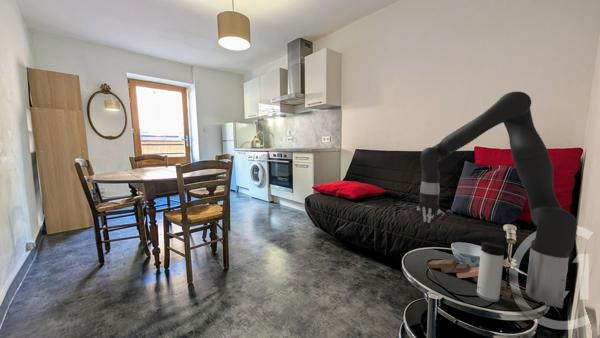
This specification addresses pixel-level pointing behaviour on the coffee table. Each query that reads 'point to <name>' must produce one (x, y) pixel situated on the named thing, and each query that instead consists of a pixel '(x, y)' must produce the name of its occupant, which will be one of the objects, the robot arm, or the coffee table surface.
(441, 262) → the walnut tile
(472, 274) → the terracotta tile
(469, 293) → the coffee table surface
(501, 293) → the walnut tile
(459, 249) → the chinaware
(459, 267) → the walnut tile
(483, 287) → the travel mug
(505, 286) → the walnut tile
